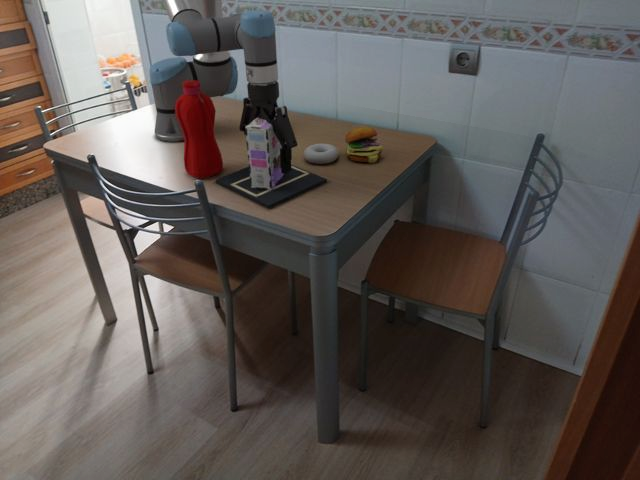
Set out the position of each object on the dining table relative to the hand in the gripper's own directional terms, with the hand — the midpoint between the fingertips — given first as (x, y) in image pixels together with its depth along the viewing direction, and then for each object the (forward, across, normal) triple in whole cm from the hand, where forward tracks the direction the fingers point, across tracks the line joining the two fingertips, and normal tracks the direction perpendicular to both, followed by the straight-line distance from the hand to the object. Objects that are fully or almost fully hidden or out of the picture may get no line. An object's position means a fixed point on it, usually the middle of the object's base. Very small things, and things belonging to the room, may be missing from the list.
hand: (269, 164), depth 135 cm
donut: (+5, -1, +20) cm, 21 cm away
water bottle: (+5, -18, -8) cm, 20 cm away
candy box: (+4, 0, 0) cm, 4 cm away
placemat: (+5, 0, 0) cm, 5 cm away
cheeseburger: (+5, +7, +29) cm, 30 cm away
